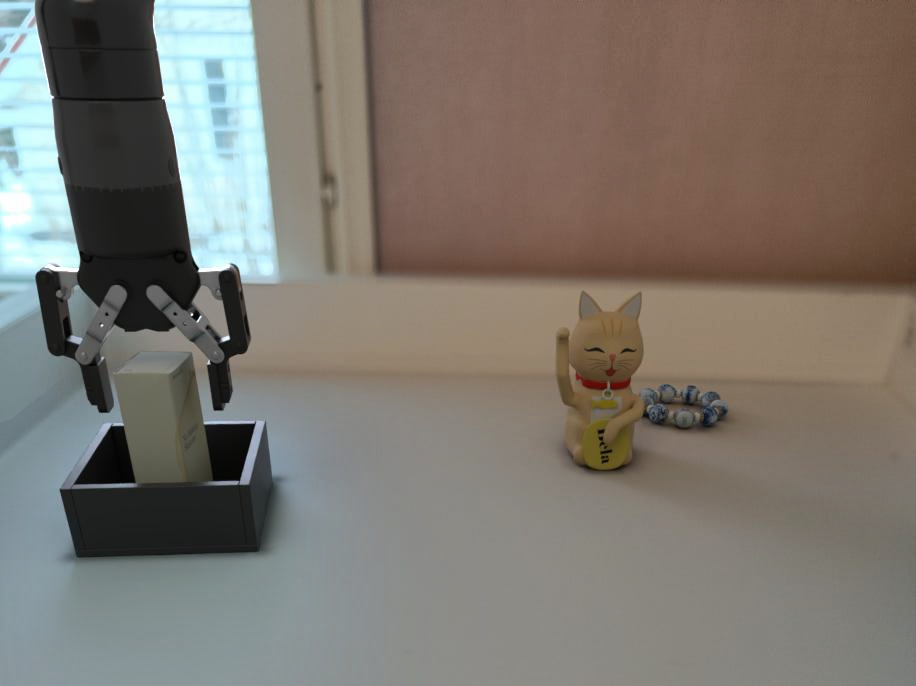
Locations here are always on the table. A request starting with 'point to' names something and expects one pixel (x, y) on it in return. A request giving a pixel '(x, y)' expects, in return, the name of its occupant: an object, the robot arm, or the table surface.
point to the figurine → (601, 382)
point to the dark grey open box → (170, 497)
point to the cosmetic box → (163, 418)
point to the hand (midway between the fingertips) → (163, 408)
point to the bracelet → (683, 416)
